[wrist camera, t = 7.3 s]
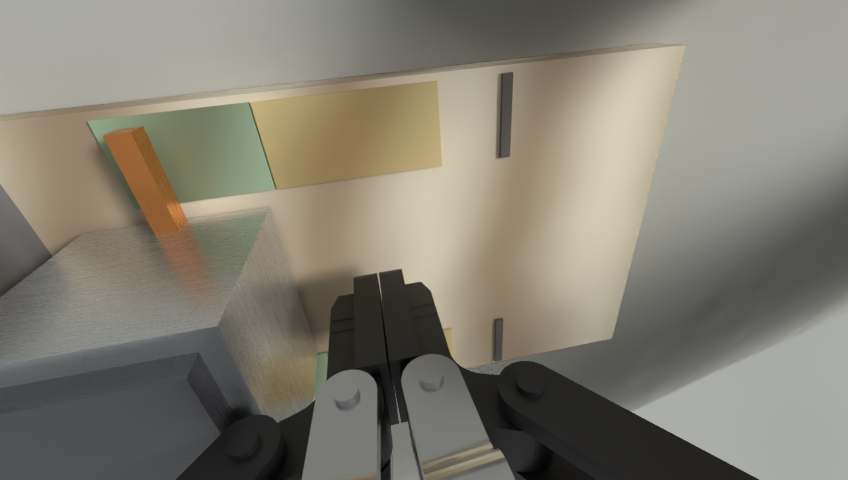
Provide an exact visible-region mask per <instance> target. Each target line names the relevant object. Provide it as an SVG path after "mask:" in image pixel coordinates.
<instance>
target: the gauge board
mask: <svg viewBox="0 0 848 480" xmlns="http://www.w3.org/2000/svg"><path fill="white" fill-rule="evenodd" d="M686 46H687V45H684V44H665V43H654V44H645V45H636V46H627V47H617V48H608V49H599V50H590V51H581V52H572V53H563V54H554V55H545V56H536V57H527V58H518V59H508V60H499V61H490V62H481V63H472V64H463V65H454V66H445V67H436V68H427V69H418V70H409V71H399V72H390V73H381V74H372V75H363V76H354V77H345V78H336V79H327V80H318V81H309V82H300V83H290V84H281V85H272V86H263V87H254V88H245V89H236V90H227V91H218V92H209V93H200V94H191V95H181V96H172V97H163V98H154V99H145V100H136V101H127V102H118V103H109V104H100V105H91V106H82V107H72V108H63V109H54V110H45V111H36V112H27V113H18V114H9V115H0V297H2V296H3V295H4V294H5V293H7V292H8V291H9V290H11V289H12V288H13V287H14V286H16V285H17V284H18V283H20V282H21V281H22V280H23V279H25V278H26V277H27V276H29V275H30V274H31V273H32V272H34V271H35V270H36V269H38V268H39V267H40V266H41V265H43V264H44V263H45V262H47V261H48V260H49V259H50V258H52V257H53V256H54V255H56V254H57V253H58V252H59V251H61V250H62V249H63V248H65V247H66V246H67V245H68V244H70V243H71V242H72V241H74V240H75V239H76V238H78V237H79V236H80V235H81V234H83V233H88V232H95V231H102V230H109V229H116V228H123V227H130V226H137V225H143V224H149V223H148V221H147V219H146V217H145V215H144V213H143V211H142V209H141V208H140V206H139V204H138V202H137V200H136V198H135V196H134V194H133V192H132V191H131V189H130V187H129V185H128V183H127V181H126V179H125V177H124V176H123V174H122V172H121V170H120V168H119V166H118V164H117V162H116V161H115V159H114V157H113V155H112V153H111V151H110V149H109V147H108V145H107V144H106V142H105V140H104V138H103V136H102V135H105V134H107V133H109V132H111V131H114V130H116V129H123V128H131V127H140V126H143V127H144V129H145V131H146V133H147V135H148V137H149V140H150V142H151V144H152V146H153V148H154V150H155V152H156V155H157V157H158V159H159V161H160V163H161V165H162V167H163V170H164V172H165V174H166V176H167V178H168V180H169V182H170V184H171V187H172V189H173V191H174V193H175V195H176V197H177V199H178V202H179V204H180V206H181V208H182V210H183V212H184V214H185V217H186V218H192V217H199V216H205V215H212V214H219V213H226V212H233V211H240V210H247V209H254V208H261V207H267V206H270V207H271V210H272V213H273V216H274V219H275V223H276V226H277V229H278V232H279V235H280V238H281V241H282V244H283V247H284V250H285V253H286V256H287V259H288V262H289V265H290V268H291V271H292V274H293V277H294V280H295V283H296V286H297V289H298V292H299V295H300V298H301V302H302V305H303V308H304V311H305V314H306V317H307V320H308V323H309V326H310V329H311V332H312V335H313V338H314V341H315V344H316V347H317V350H318V354H317V365H316V375H315V386H314V396H313V400H314V399H316V396H317V393H318V391H319V389H320V388H321V386H322V385H323V384H324V383H325V382H326V378H327V364H328V348H329V336H330V333H329V332H330V316H331V308H332V306H333V305H334V303H335V301H336V300H337V298H338V296H342V295H348V294H354V283H353V278H354V277H356V276H362V275H368V274H374V273H377V275H378V281H379V286H380V279H379V272H385V271H391V270H396V269H402V273H403V277H404V282H405V284H410V283H416V282H422V283H423V284H424V285H425V286H426V287H427V288H428V289H429V290H430V291H431V293H432V296H433V300H434V303H435V306H436V309H437V312H438V316H439V319H440V322H441V325H442V328H443V332H444V335H445V338H446V341H447V344H448V348H449V351H450V354H451V356H452V357H453V359H454V360H455V361H456V363H457V364H459V365H460V366H461V367H463V368H465V369H466V368H471V367H476V366H480V365H485V364H490V363H495V362H500V361H505V360H510V359H515V358H520V357H524V356H529V355H534V354H539V353H544V352H549V351H554V350H559V349H564V348H569V347H573V346H578V345H583V344H588V343H593V342H598V341H603V340H608V339H612V337H613V333H614V329H615V325H616V321H617V317H618V313H619V309H620V305H621V301H622V297H623V294H624V290H625V286H626V282H627V278H628V274H629V270H630V266H631V262H632V258H633V254H634V250H635V246H636V242H637V238H638V235H639V231H640V227H641V223H642V219H643V215H644V211H645V207H646V203H647V199H648V195H649V191H650V187H651V183H652V179H653V176H654V172H655V168H656V164H657V160H658V156H659V152H660V148H661V144H662V140H663V136H664V132H665V128H666V124H667V120H668V116H669V113H670V109H671V105H672V101H673V97H674V93H675V89H676V85H677V81H678V77H679V73H680V69H681V65H682V61H683V57H684V54H685V50H686ZM380 292H381V287H380ZM381 297H382V295H381Z"/></svg>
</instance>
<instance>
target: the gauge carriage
mask: <svg viewBox="0 0 848 480" xmlns="http://www.w3.org/2000/svg"><path fill="white" fill-rule="evenodd" d="M102 136H103V138H104V140H105V142H106V144H107V145H108V147H109V149H110V151H111V153H112V155H113V157H114V159H115V161H116V162H117V164H118V166H119V168H120V170H121V172H122V174H123V176H124V177H125V179H126V181H127V183H128V185H129V187H130V189H131V191H132V192H133V194H134V196H135V198H136V200H137V202H138V204H139V206H140V208H141V209H142V211H143V213H144V215H145V217H146V219H147V221H148V223H149V224H143V225H137V226H130V227H123V228H116V229H109V230H102V231H95V232H88V233H83V234H81V235H80V236H79V237H78V238H76V239H75V240H74V241H72V242H71V243H70V244H68V245H67V246H66V247H65V248H63V249H62V250H61V251H59V252H58V253H57V254H56V255H54V256H53V257H52V258H50V259H49V260H48V261H47V262H45V263H44V264H43V265H41V266H40V267H39V268H38V269H36V270H35V271H34V272H32V273H31V274H30V275H29V276H27V277H26V278H25V279H23V280H22V281H21V282H20V283H18V284H17V285H16V286H14V287H13V288H12V289H11V290H9V291H8V292H7V293H5V294H4V295H3V296H2V297H0V480H176V479H177V478H178V477H179V476H180V475H181V474H182V473H183V472H184V471H185V470H186V469H187V468H188V467H189V466H190V465H191V464H192V463H193V462H194V461H195V460H196V459H197V458H198V457H199V456H200V455H201V454H202V453H203V452H204V451H205V450H206V449H207V448H208V447H209V446H210V445H211V444H212V443H213V442H214V441H215V440H216V439H217V438H218V437H219V436H220V435H221V434H222V433H223V432H224V431H225V430H226V429H227V428H228V427H229V426H231V425H232V424H234V423H235V422H237V421H239V420H241V419H243V418H245V417H248V416H252V415H267V416H270V417H272V418H273V419H274V420H275V421H276V422H277V423H278V422H280V421H282V420H284V419H286V418H288V417H290V416H292V415H294V414H296V413H298V412H299V411H301V410H303V409H305V408H306V407H307V406H309V405H310V404H311V403H312V402H313V396H314V386H315V375H316V365H317V354H318V350H317V347H316V344H315V341H314V338H313V335H312V332H311V329H310V326H309V323H308V320H307V317H306V314H305V311H304V308H303V305H302V302H301V298H300V295H299V292H298V289H297V286H296V283H295V280H294V277H293V274H292V271H291V268H290V265H289V262H288V259H287V256H286V253H285V250H284V247H283V244H282V241H281V238H280V235H279V232H278V229H277V226H276V223H275V219H274V216H273V213H272V210H271V207H270V206H267V207H261V208H254V209H247V210H240V211H233V212H226V213H219V214H212V215H205V216H199V217H192V218H186V217H185V214H184V212H183V210H182V208H181V206H180V204H179V202H178V199H177V197H176V195H175V193H174V191H173V189H172V187H171V184H170V182H169V180H168V178H167V176H166V174H165V172H164V170H163V167H162V165H161V163H160V161H159V159H158V157H157V155H156V152H155V150H154V148H153V146H152V144H151V142H150V140H149V137H148V135H147V133H146V131H145V129H144V127H143V126H140V127H131V128H123V129H116V130H114V131H111V132H109V133H107V134H105V135H102Z"/></svg>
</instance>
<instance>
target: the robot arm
mask: <svg viewBox="0 0 848 480" xmlns="http://www.w3.org/2000/svg"><path fill="white" fill-rule="evenodd" d="M379 279H380V286H379V281H378V275H377V273H374V274H368V275H362V276H356V277H354V278H353V283H354V294H348V295H342V296H338V298H337V300H336V301H335V303H334V305H333V306H332V308H331V316H330V332H329V333H330V336H329V348H328V364H327V378H326V382H325V383H324V384H323V385H322V386H321V388H320V389H319V391H318V393H317V396H316V399H315V400H314V401H313V402H312V403H311V404H310V405H309V406H307V407H306V408H305V409H303V410H301V411H299V412H298V413H296V414H294V415H292V416H290V417H288V418H286V419H284V420H282V421H280V422H278V423H277V422H276V421H275V420H274V419H273V418H272V417H270V416H267V415H252V416H248V417H245V418H243V419H241V420H239V421H237V422H235V423H234V424H232V425H231V426H229V427H228V428H227V429H226V430H225V431H224V432H223V433H222V434H221V435H220V436H219V437H218V438H217V439H216V440H215V441H214V442H213V443H212V444H211V445H210V446H209V447H208V448H207V449H206V450H205V451H204V452H203V453H202V454H201V455H200V456H199V457H198V458H197V459H196V460H195V461H194V462H193V463H192V464H191V465H190V466H189V467H188V468H187V469H186V470H185V471H184V472H183V473H182V474H181V475H180V476H179V477H178V478H177V479H176V480H393V456H392V448H393V444H392V434H391V425H394V424H398V423H399V420H398V412H397V405H396V397H397V403H398V408H399V413H400V418H401V423H402V422H407V421H408V424H409V430H410V436H411V441H412V447H413V453H414V457H415V462H416V466H417V470H418V475H419V479H420V480H758V479H757V478H755V477H753V476H751V475H749V474H747V473H745V472H744V471H742V470H740V469H738V468H736V467H734V466H732V465H730V464H728V463H727V462H725V461H723V460H721V459H719V458H717V457H715V456H713V455H711V454H710V453H708V452H706V451H704V450H702V449H700V448H698V447H696V446H694V445H692V444H691V443H689V442H687V441H685V440H683V439H681V438H679V437H677V436H675V435H674V434H672V433H670V432H668V431H666V430H664V429H662V428H660V427H659V426H657V425H655V424H653V423H651V422H649V421H647V420H645V419H643V418H641V417H639V416H638V415H636V414H634V413H632V412H630V411H628V410H626V409H625V408H623V407H621V406H619V405H617V404H615V403H613V402H611V401H609V400H608V399H606V398H604V397H602V396H600V395H598V394H596V393H594V392H592V391H591V390H589V389H587V388H585V387H583V386H581V385H579V384H577V383H575V382H574V381H572V380H570V379H568V378H566V377H564V376H562V375H560V374H558V373H556V372H555V371H553V370H551V369H549V368H547V367H545V366H543V365H541V364H538V363H535V362H530V361H520V362H515V363H512V364H510V365H508V366H507V367H505V368H504V369H503V370H502V372H501V373H500V375H491V374H481V373H475V372H471V371H469V370H466V369H465V368H463V367H461V366H460V365H459V364H457V363H456V361H455V360H454V359H453V357H452V356H451V354H450V351H449V348H448V344H447V341H446V338H445V335H444V332H443V328H442V325H441V322H440V319H439V316H438V312H437V309H436V306H435V303H434V300H433V296H432V293H431V291H430V290H429V289H428V288H427V287H426V286H425V285H424V284H423V283H422V282H416V283H410V284H405V282H404V277H403V273H402V269H396V270H391V271H385V272H379ZM380 287H381V292H380ZM381 295H382V297H381ZM394 387H395V389H394ZM395 392H396V397H395Z"/></svg>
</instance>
